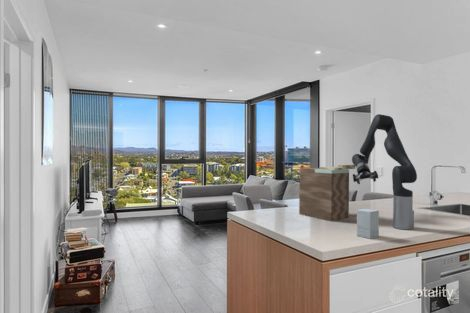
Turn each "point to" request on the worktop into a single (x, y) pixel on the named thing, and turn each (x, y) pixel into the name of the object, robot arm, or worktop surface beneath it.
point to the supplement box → (368, 223)
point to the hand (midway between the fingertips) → (366, 181)
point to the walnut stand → (324, 193)
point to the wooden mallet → (339, 167)
